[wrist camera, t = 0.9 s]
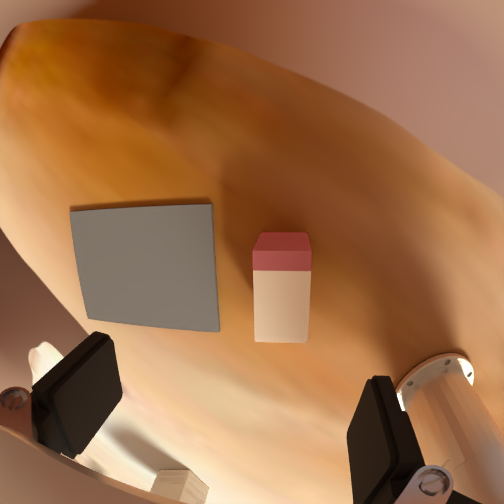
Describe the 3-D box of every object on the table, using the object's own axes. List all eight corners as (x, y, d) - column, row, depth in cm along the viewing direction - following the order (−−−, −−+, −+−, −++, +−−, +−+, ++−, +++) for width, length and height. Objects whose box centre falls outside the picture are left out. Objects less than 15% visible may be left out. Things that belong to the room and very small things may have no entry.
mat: (220, 329, 34) (219, 332, 33) (90, 316, 36) (88, 318, 35) (212, 203, 30) (211, 204, 30) (72, 211, 32) (69, 212, 32)
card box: (304, 308, 32) (307, 343, 25) (262, 307, 32) (254, 341, 26) (307, 232, 30) (311, 251, 23) (260, 232, 30) (252, 250, 24)
